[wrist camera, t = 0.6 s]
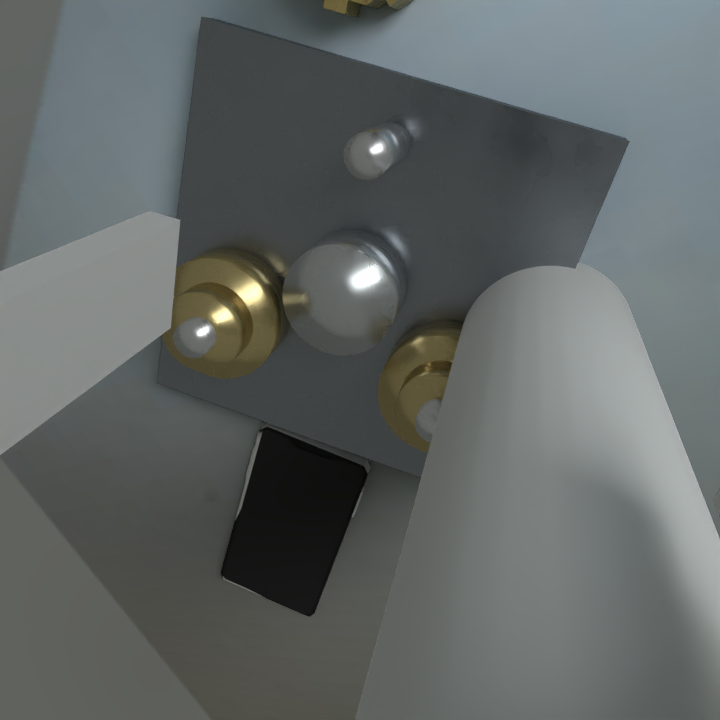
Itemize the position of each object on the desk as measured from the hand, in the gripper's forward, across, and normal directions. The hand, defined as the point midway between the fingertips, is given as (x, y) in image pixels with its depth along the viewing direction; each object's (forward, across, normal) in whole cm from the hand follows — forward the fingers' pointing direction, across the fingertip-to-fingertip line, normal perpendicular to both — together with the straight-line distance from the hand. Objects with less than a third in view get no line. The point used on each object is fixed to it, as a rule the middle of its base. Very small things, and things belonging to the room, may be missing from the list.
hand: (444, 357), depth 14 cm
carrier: (+23, -6, -7) cm, 25 cm away
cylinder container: (+23, +5, -8) cm, 25 cm away
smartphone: (+23, -7, -27) cm, 36 cm away
